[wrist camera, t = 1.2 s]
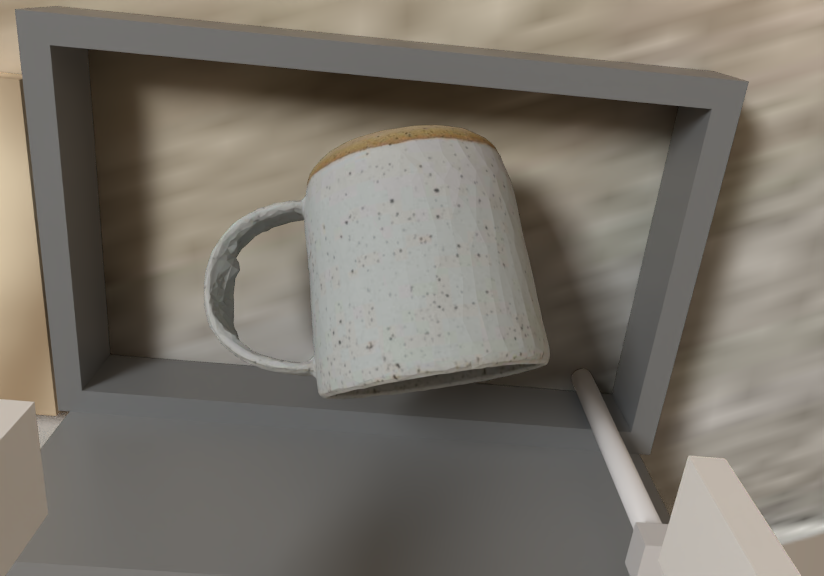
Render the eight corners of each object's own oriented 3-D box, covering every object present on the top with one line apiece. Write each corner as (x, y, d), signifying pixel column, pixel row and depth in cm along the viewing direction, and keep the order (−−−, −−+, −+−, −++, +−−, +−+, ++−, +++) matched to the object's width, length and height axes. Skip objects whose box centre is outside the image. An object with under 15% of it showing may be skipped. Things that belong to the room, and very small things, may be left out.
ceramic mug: (455, 184, 30) (548, 106, 23) (488, 381, 29) (598, 362, 22) (189, 197, 27) (204, 109, 19) (215, 423, 25) (240, 417, 18)
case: (90, 392, 32) (-61, 590, 22) (56, 6, 26) (-176, 23, 16) (624, 433, 33) (724, 640, 23) (713, 71, 27) (906, 128, 17)
